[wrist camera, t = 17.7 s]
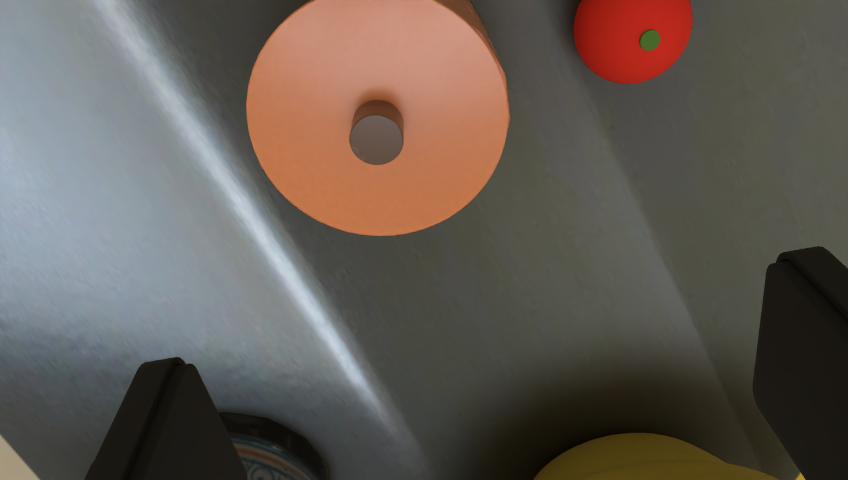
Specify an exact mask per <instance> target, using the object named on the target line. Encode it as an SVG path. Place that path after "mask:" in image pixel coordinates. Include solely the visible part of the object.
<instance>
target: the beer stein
mask: <svg viewBox="0 0 848 480" xmlns="http://www.w3.org/2000/svg"><path fill="white" fill-rule="evenodd" d="M219 416H220V418H221V420H222V422H223V424H224V426H225V428H226V430H227V432H228V434H229V436H230V438H231V440H232V442H233V444H234V446H235V448H236V450H237V452H238V454H239V456H240V459H241V461H242V463H243V465H244V467H245V469H246V472H247V478H248V480H329V467H328V466H327V465H326V464H325V462H324V461H323V460H322V459H321V457H320V456H319V455H318V454H317V452H316V451H315V450H314V449H313V447H312V446H311V445H310V444H309V442H308V441H307V440H306V439H305V438H304V437H302V436H300V435H298V434H296V433H294V432H292V431H290V430H289V429H287V428H285V427H283V426H281V425H279V424H277V423H275V422H273V421H271V420H270V419H265V418H258V417H251V416H244V415H237V414H230V413H221V414H219Z"/></svg>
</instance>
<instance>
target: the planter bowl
mask: <svg viewBox="0 0 848 480" xmlns="http://www.w3.org/2000/svg"><path fill="white" fill-rule="evenodd" d="M533 480H780V479H778V478H775V477H773V476H770V475H768V474H765V473H763V472H760V471H756V470H753V469H750V468H746V467H743V466H738V465H734V464H729V463H725V462H724V461H722V460H721V459H719V458H717V457H715V456H713V455H712V454H710V453H708V452H706V451H704V450H702V449H700V448H698V447H696V446H694V445H692V444H689V443H687V442H685V441H682V440H679V439H676V438H673V437H669V436H664V435H659V434H653V433H624V434H616V435H610V436H605V437H601V438H597V439H594V440H590V441H588V442H585V443H583V444H580V445H578V446H576V447H573V448H571V449H569V450H567V451H566V452H564V453H562V454H561V455H559V456H558V457H556V458H555V459H554V460H552V461H551V462H550V463H549V464H547V465H546V466H545V467H544V468H543V469H542V470H541V471H540V472H539V473H538V474H537V475H536V476H535V478H534V479H533Z"/></svg>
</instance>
